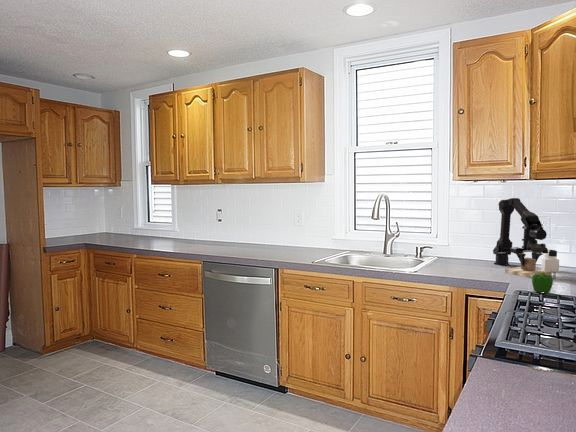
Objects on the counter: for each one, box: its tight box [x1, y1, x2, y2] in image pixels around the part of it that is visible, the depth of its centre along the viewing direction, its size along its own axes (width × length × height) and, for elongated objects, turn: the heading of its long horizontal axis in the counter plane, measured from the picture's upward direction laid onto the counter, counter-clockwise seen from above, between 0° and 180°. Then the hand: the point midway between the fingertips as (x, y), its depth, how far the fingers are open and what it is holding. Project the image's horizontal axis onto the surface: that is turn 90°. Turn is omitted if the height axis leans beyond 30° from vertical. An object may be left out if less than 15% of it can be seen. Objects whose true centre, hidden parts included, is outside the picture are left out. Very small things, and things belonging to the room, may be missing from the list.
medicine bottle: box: [540, 249, 560, 273], centre depth 246 cm, size 7×7×12 cm
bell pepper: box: [531, 272, 554, 294], centre depth 197 cm, size 8×8×10 cm
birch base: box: [504, 266, 553, 279], centre depth 238 cm, size 16×16×2 cm
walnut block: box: [520, 257, 537, 271], centre depth 237 cm, size 5×5×6 cm
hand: (528, 265), depth 237 cm, fingers open, 6 cm apart
